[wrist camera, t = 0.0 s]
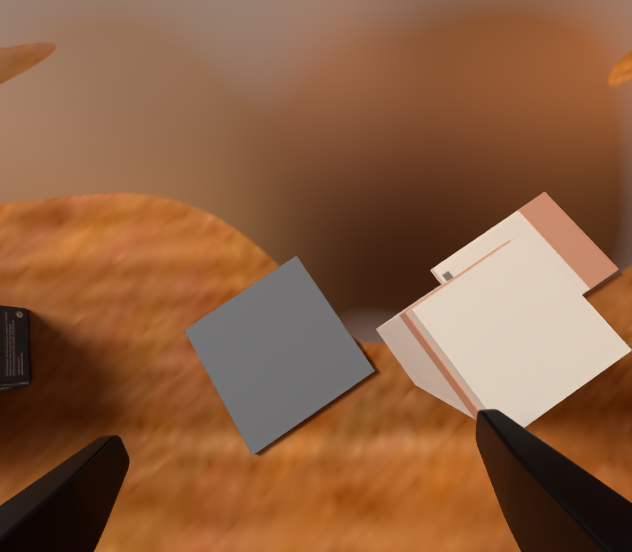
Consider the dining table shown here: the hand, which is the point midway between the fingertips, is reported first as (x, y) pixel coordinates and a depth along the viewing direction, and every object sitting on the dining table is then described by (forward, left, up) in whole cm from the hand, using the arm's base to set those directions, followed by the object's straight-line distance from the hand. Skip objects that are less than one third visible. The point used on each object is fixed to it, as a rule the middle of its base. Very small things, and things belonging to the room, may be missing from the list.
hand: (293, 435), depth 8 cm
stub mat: (+4, +2, -15) cm, 15 cm away
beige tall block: (-1, -7, -15) cm, 17 cm away
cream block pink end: (-1, -15, -15) cm, 22 cm away
